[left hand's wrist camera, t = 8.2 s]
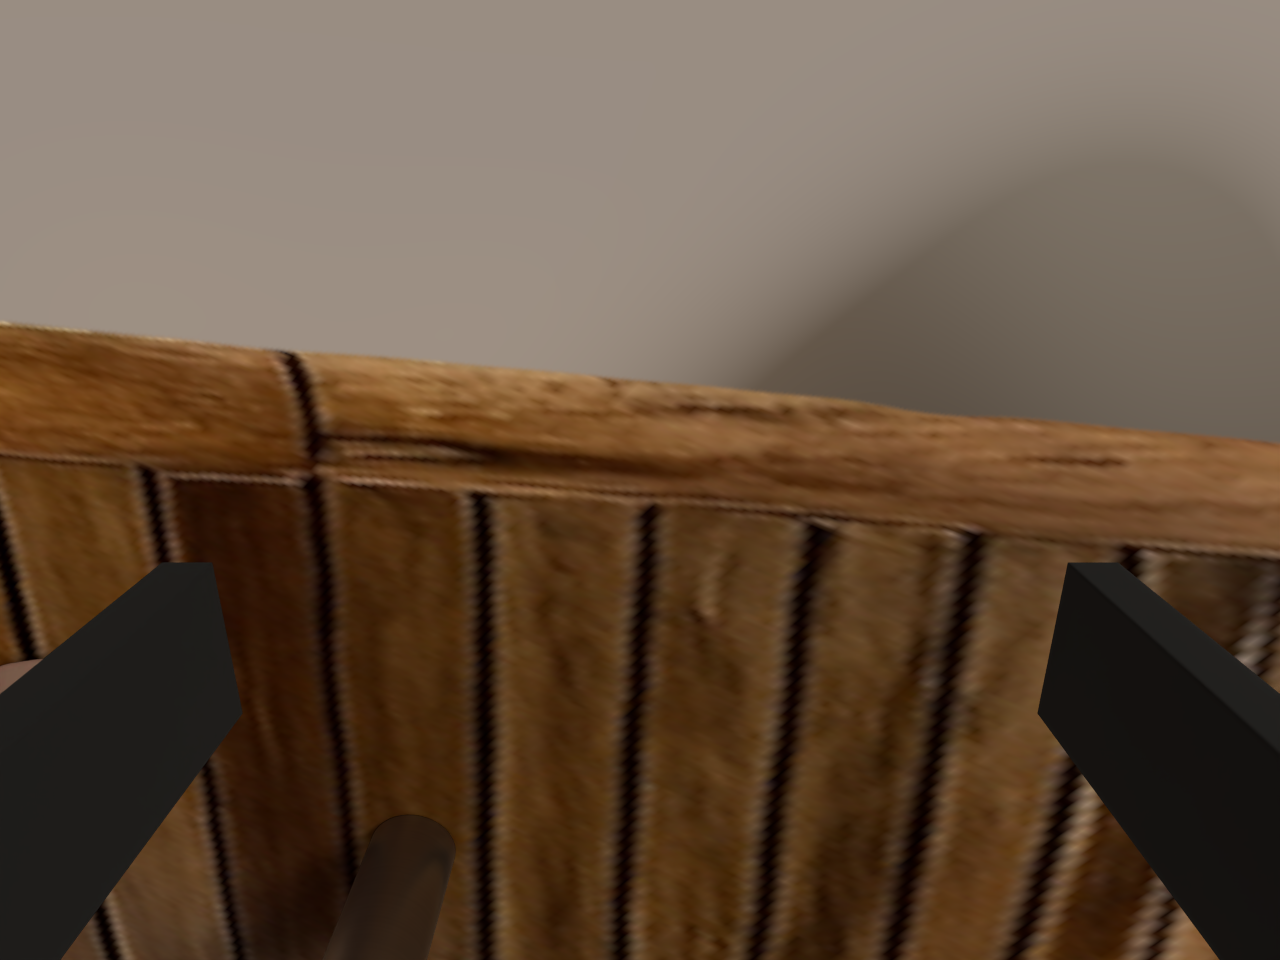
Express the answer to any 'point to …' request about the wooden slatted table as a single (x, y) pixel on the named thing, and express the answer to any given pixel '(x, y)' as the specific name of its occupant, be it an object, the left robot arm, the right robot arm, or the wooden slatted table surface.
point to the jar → (395, 893)
